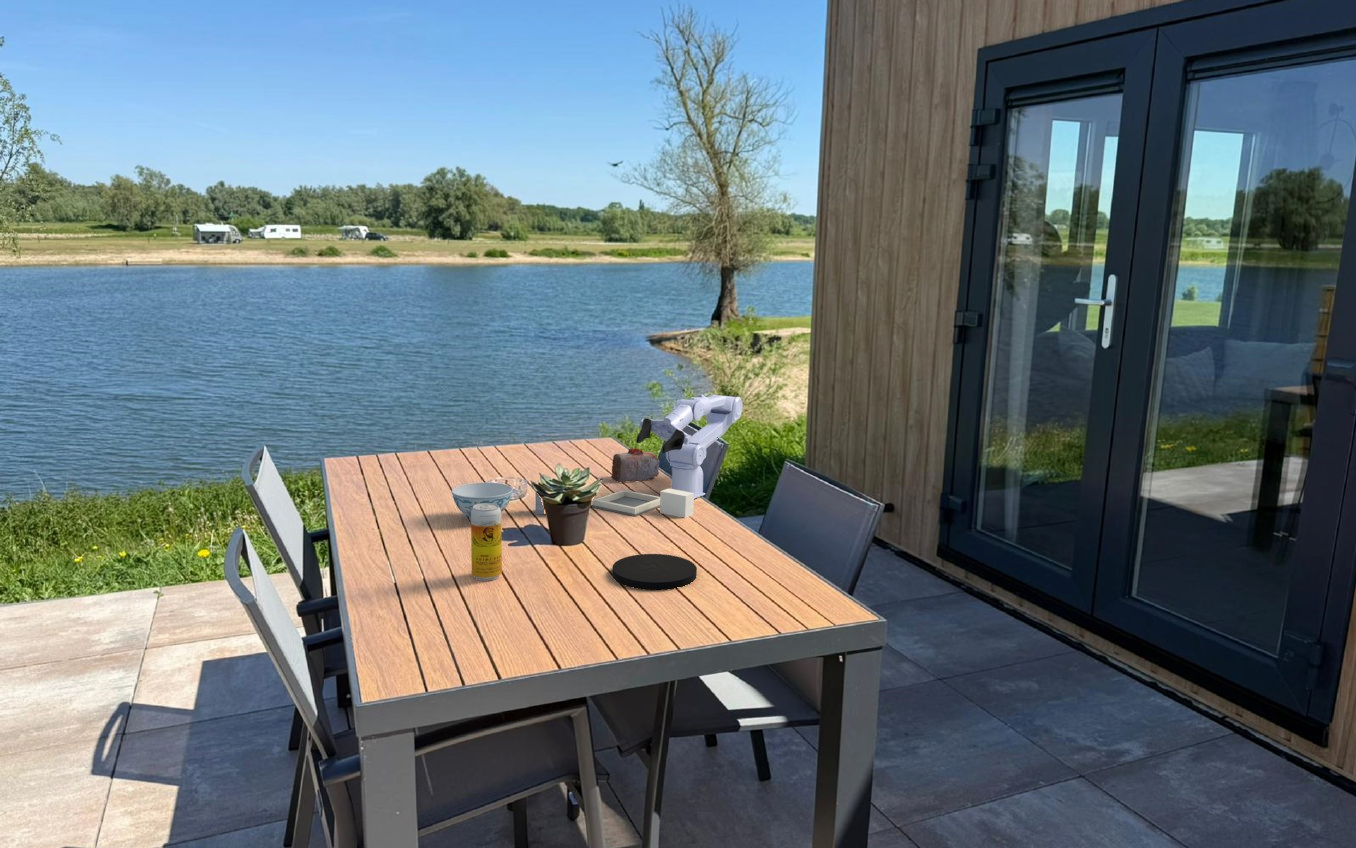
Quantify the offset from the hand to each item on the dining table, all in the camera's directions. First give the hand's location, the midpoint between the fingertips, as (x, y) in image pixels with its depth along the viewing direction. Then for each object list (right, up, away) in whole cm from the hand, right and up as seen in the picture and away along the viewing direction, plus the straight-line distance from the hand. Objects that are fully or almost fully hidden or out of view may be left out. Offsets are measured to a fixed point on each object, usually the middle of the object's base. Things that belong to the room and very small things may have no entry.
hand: (650, 444), depth 225 cm
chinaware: (-42, -19, -6) cm, 47 cm away
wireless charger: (+2, -27, -43) cm, 51 cm away
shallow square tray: (-6, -17, +10) cm, 21 cm away
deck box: (+7, -19, +4) cm, 20 cm away
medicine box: (-26, -18, +1) cm, 32 cm away
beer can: (-32, -26, -47) cm, 63 cm away
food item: (-6, -12, +40) cm, 42 cm away
